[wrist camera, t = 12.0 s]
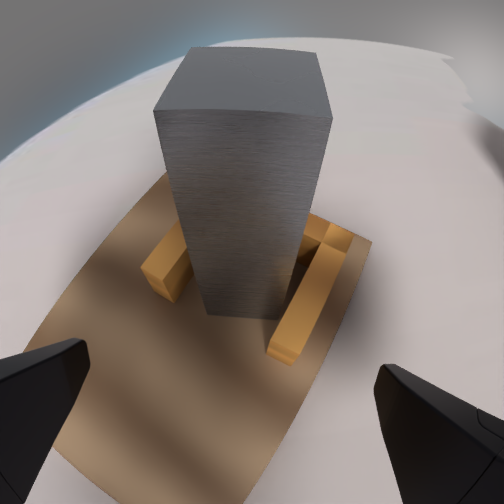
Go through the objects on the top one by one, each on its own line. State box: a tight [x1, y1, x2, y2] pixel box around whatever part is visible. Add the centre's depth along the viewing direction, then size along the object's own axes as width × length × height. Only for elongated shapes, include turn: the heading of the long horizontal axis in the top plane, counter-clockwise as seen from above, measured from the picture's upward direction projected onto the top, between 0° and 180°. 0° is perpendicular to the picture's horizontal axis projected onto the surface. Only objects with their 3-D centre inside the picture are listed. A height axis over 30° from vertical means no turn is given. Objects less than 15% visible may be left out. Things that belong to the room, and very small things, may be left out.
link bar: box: [153, 47, 333, 320], centre depth 13 cm, size 4×4×13 cm
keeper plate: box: [23, 172, 372, 504], centre depth 16 cm, size 22×16×4 cm
